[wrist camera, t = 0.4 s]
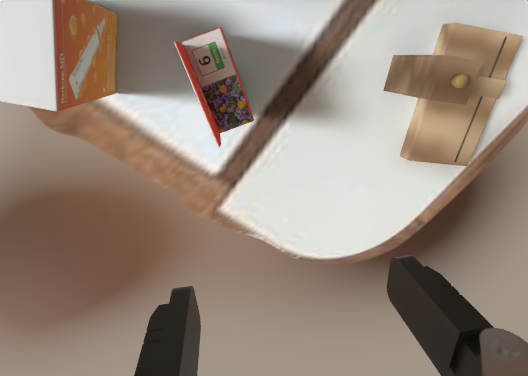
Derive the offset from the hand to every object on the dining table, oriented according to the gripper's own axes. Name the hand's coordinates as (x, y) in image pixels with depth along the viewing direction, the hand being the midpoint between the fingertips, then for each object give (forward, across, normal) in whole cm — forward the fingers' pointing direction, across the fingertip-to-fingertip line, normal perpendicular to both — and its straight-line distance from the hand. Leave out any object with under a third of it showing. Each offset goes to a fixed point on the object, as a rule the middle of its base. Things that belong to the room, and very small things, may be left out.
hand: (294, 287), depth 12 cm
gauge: (+27, -24, -4) cm, 36 cm away
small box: (+27, +16, -10) cm, 33 cm away
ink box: (+27, +2, -6) cm, 28 cm away
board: (+27, -27, -1) cm, 38 cm away
